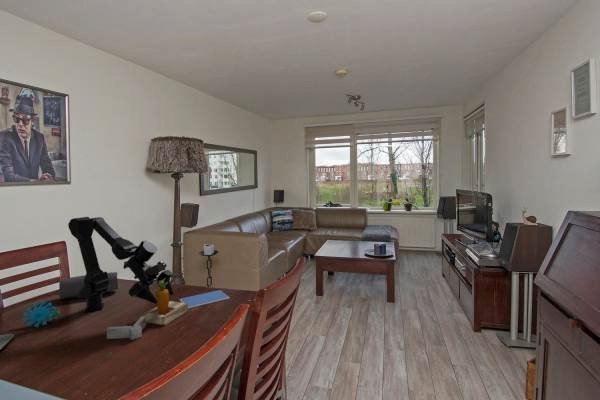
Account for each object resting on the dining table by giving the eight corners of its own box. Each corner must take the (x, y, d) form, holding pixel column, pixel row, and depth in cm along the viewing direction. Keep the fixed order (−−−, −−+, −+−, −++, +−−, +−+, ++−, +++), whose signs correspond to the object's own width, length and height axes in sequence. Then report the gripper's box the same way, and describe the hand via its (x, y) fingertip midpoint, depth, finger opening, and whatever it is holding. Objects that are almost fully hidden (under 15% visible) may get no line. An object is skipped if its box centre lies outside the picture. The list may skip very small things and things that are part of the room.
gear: (18, 326, 116) (27, 300, 123) (21, 333, 120) (29, 307, 126) (55, 324, 121) (62, 300, 127) (57, 331, 125) (63, 306, 131)
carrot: (158, 315, 129) (157, 279, 128) (171, 315, 130) (170, 278, 129) (154, 321, 124) (153, 283, 123) (167, 320, 125) (166, 282, 124)
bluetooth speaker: (117, 288, 162) (117, 268, 161) (118, 294, 154) (117, 273, 153) (62, 297, 150) (60, 276, 150) (59, 303, 142) (58, 281, 142)
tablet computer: (187, 310, 136) (187, 307, 136) (178, 301, 146) (178, 298, 146) (230, 300, 147) (230, 297, 147) (219, 292, 157) (219, 289, 157)
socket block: (143, 321, 124) (143, 314, 123) (167, 307, 137) (167, 300, 137) (165, 325, 121) (164, 317, 121) (187, 310, 134) (187, 303, 134)
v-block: (105, 337, 111) (105, 328, 111) (144, 324, 122) (144, 315, 121) (116, 346, 106) (115, 335, 105) (156, 331, 116) (155, 321, 116)
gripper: (133, 261, 118) (160, 294, 115) (167, 250, 135) (191, 278, 133) (117, 281, 120) (142, 313, 118) (153, 267, 138) (175, 295, 136)
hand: (164, 298), depth 126 cm, fingers open, 9 cm apart
